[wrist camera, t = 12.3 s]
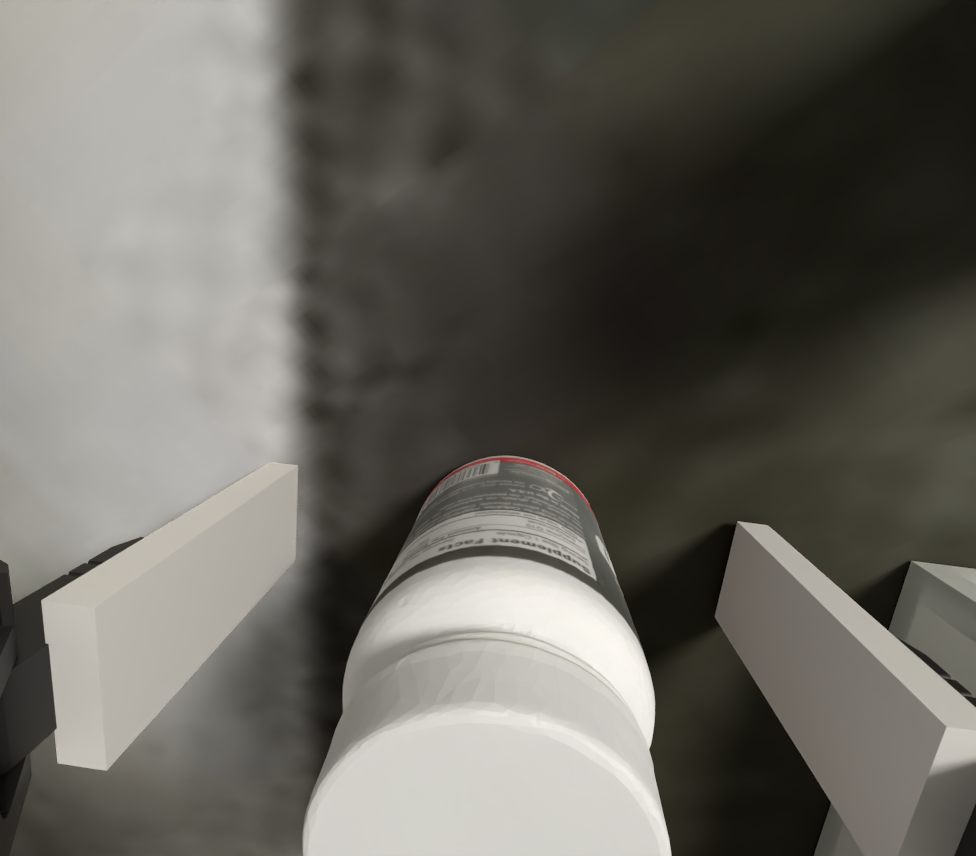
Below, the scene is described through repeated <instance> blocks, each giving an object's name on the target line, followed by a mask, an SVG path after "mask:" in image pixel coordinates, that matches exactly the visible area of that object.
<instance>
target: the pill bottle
mask: <svg viewBox="0 0 976 856" xmlns="http://www.w3.org/2000/svg"><path fill="white" fill-rule="evenodd" d="M342 700H343V714H342V716H341V718H340V720H339V723H338V725H337V727H336V729H335V732H334V736H333V739H332V742H331V746H330V749H329V751H328V754H327V757H326V759H325V762H324V764H323V767H322V769H321V772H320V774H319V777H318V779H317V782H316V784H315V787H314V789H313V791H312V794H311V798H310V801H309V804H308V807H307V810H306V814H305V819H304V825H303V832H302V854H303V856H671V848H670V841H669V836H668V832H667V828H666V823H665V819H664V815H663V810H662V806H661V802H660V797H659V793H658V789H657V784H656V780H655V776H654V769H653V763H652V759H651V755H650V752H649V748H650V745H651V742H652V736H653V729H654V720H655V698H654V690H653V685H652V680H651V675H650V672H649V668H648V665H647V662H646V658H645V655H644V652H643V648H642V645H641V643H640V640H639V637H638V634H637V631H636V629H635V627H634V624H633V621H632V618H631V615H630V613H629V610H628V607H627V605H626V602H625V600H624V596H623V593H622V591H621V588H620V586H619V583H618V581H617V577H616V574H615V572H614V569H613V566H612V564H611V561H610V558H609V555H608V552H607V549H606V547H605V544H604V541H603V538H602V536H601V533H600V529H599V526H598V523H597V520H596V518H595V516H594V513H593V511H592V509H591V507H590V505H589V504H588V502H587V500H586V498H585V497H584V495H583V494H582V493H581V491H580V490H579V489H578V488H577V487H576V486H575V485H574V484H573V483H572V482H571V481H570V480H569V479H568V478H566V477H565V476H564V475H562V474H561V473H559V472H558V471H556V470H554V469H553V468H551V467H549V466H547V465H545V464H542V463H540V462H537V461H534V460H531V459H527V458H523V457H517V456H493V457H487V458H483V459H479V460H476V461H473V462H470V463H468V464H466V465H464V466H462V467H460V468H458V469H456V470H454V471H453V472H452V473H450V474H449V475H448V476H446V477H445V478H444V479H443V480H442V481H441V482H440V483H439V484H438V485H437V486H436V487H435V488H434V489H433V491H432V492H431V493H430V495H429V496H428V497H427V499H426V501H425V502H424V504H423V506H422V508H421V510H420V513H419V515H418V517H417V519H416V521H415V524H414V526H413V528H412V530H411V532H410V534H409V535H408V537H407V540H406V541H405V543H404V545H403V547H402V549H401V551H400V553H399V555H398V557H397V559H396V561H395V563H394V565H393V567H392V569H391V571H390V573H389V574H388V577H387V578H386V580H385V582H384V584H383V586H382V588H381V590H380V592H379V594H378V595H377V597H376V599H375V601H374V603H373V605H372V606H371V608H370V610H369V612H368V614H367V615H366V617H365V619H364V621H363V624H362V626H361V628H360V630H359V633H358V635H357V638H356V640H355V642H354V644H353V647H352V649H351V652H350V655H349V658H348V662H347V665H346V670H345V675H344V682H343V699H342Z"/></svg>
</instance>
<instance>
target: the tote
mask: <svg viewBox="0 0 976 856" xmlns="http://www.w3.org/2000/svg"><path fill="white" fill-rule="evenodd" d="M888 631H889V632H890V633H891V634H892V635H894V636H896V637H897V638H899V639H901V640H902V641H904V642H906V643H907V644H909V645H911V646H912V647H914V648H916V649H917V650H919V651H921V652H922V653H924V654H925V655H927V656H928V657H929V658H931V659H932V660H933V661H934V662H935V663H936V664H938V665H939V666H940V667H941V668H942V669H943V670H945V671H946V672H947V673H948V674H949V675H950V676H951V679H952V680H956V681H957V682H959V683H960V684H961V685H962V686H963V687H964V688H966V689H967V690H968V691H969V692H970V693H971V696H972V697H973V698H976V569H971V568H964V567H956V566H948V565H940V564H932V563H925V562H917V561H911V563H910V566H909V569H908V572H907V575H906V578H905V581H904V584H903V587H902V590H901V593H900V596H899V599H898V602H897V605H896V608H895V612H894V615H893V618H892V621H891V624H890V627H889V630H888ZM814 856H864V854H863V853H862V851H861V849H860V848H859V846H858V845H857V843H856V841H855V840H854V838H853V837H852V835H851V833H850V832H849V830H848V829H847V827H846V825H845V824H844V822H843V821H842V819H841V817H840V816H839V814H838V813H837V811H836V810H835V808H834V806H833V805H832V803H831V805H830V808H829V811H828V814H827V817H826V820H825V823H824V826H823V829H822V832H821V835H820V838H819V841H818V844H817V847H816V850H815V853H814Z"/></svg>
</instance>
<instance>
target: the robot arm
mask: <svg viewBox="0 0 976 856" xmlns="http://www.w3.org/2000/svg"><path fill="white" fill-rule="evenodd" d="M297 489H298V465H291V464H283V463H275V462H269V463H267V464H265V465H264V466H262V467H260V468H259V469H257V470H255V471H254V472H252V473H250V474H249V475H247V476H245V477H244V478H242V479H241V480H239V481H237V482H236V483H234V484H232V485H231V486H229V487H227V488H226V489H224V490H222V491H221V492H219V493H217V494H216V495H214V496H212V497H211V498H209V499H208V500H206V501H204V502H203V503H201V504H199V505H198V506H196V507H194V508H193V509H191V510H189V511H188V512H186V513H184V514H183V515H181V516H179V517H178V518H176V519H175V520H173V521H171V522H170V523H168V524H166V525H165V526H163V527H161V528H160V529H158V530H156V531H155V532H153V533H151V534H150V535H148V536H146V537H145V538H144V537H140V538H137V539H134V540H131V541H128V542H125V543H122V544H120V545H117V546H114V547H111V548H109V549H108V550H106V551H104V552H103V553H101V554H99V555H97V556H96V557H94V558H92V559H91V560H89V562H88V564H86V563H84V564H82V565H80V566H78V567H77V568H75V569H73V570H72V571H70V572H69V574H68V575H63V576H61V577H60V578H58V579H56V580H54V581H53V582H51V583H49V584H47V585H46V586H44V587H42V588H41V589H39V590H37V591H35V592H34V593H32V594H30V595H29V596H27V597H25V598H23V599H22V600H20V601H18V602H16V603H15V604H13V603H12V595H11V586H10V577H9V569H8V564H6V563H5V562H3V561H1V560H0V856H9V854H10V851H11V847H12V844H13V840H14V836H15V833H16V829H17V825H18V822H19V818H20V815H21V811H22V807H23V804H24V800H25V797H26V793H27V789H28V786H29V782H30V779H31V760H30V752H31V751H32V750H33V749H34V748H35V747H37V746H38V745H39V744H40V743H41V742H42V741H43V740H44V739H45V738H47V737H48V736H49V735H50V734H51V733H52V732H53V731H54V733H55V743H56V753H57V763H58V764H65V765H71V766H78V767H85V768H91V769H98V770H105V771H107V770H108V769H109V768H110V767H111V766H112V764H113V763H114V762H115V761H116V760H117V759H118V758H119V757H120V755H121V754H122V753H123V752H124V751H125V750H126V749H127V748H128V747H129V745H130V744H131V743H132V742H133V741H134V740H135V739H136V738H137V737H138V735H139V734H140V733H141V732H142V731H143V730H144V729H145V728H146V727H147V725H148V724H149V723H150V722H151V721H152V720H153V719H154V718H155V717H156V715H157V714H158V713H159V712H160V711H161V710H162V709H163V708H164V706H165V705H166V704H167V703H168V702H169V701H170V700H171V699H172V698H173V696H174V695H175V694H176V693H177V692H178V691H179V690H180V689H181V688H182V686H183V685H184V684H185V683H186V682H187V681H188V680H189V679H190V678H191V676H192V675H193V674H194V673H195V672H196V671H197V670H198V669H199V668H200V666H201V665H202V664H203V663H204V662H205V661H206V660H207V659H208V657H209V656H210V655H211V654H212V653H213V652H214V651H215V650H216V649H217V647H218V646H219V645H220V644H221V643H222V642H223V641H224V640H225V639H226V637H227V636H228V635H229V634H230V633H231V632H232V631H233V630H234V629H235V627H236V626H237V625H238V624H239V623H240V622H241V621H242V620H243V619H244V617H245V616H246V615H247V614H248V613H249V612H250V611H251V610H252V608H253V607H254V606H255V605H256V604H257V603H258V602H259V601H260V600H261V598H262V597H263V596H264V595H265V594H266V593H267V592H268V591H269V590H270V588H271V587H272V586H273V585H274V584H275V583H276V582H277V581H278V580H279V578H280V577H281V576H282V575H283V574H284V573H285V572H286V571H287V570H288V568H289V567H290V566H291V565H292V564H293V563H294V562H295V561H296V526H297ZM715 618H716V620H717V622H718V623H719V625H720V626H721V628H722V629H723V631H724V633H725V634H726V636H727V637H728V639H729V641H730V642H731V644H732V645H733V647H734V649H735V650H736V652H737V653H738V655H739V657H740V658H741V660H742V661H743V663H744V665H745V666H746V668H747V669H748V671H749V672H750V674H751V676H752V677H753V679H754V680H755V682H756V684H757V685H758V687H759V688H760V690H761V692H762V693H763V695H764V696H765V698H766V700H767V701H768V703H769V704H770V706H771V708H772V709H773V711H774V712H775V714H776V716H777V717H778V719H779V720H780V722H781V723H782V725H783V727H784V728H785V730H786V731H787V733H788V735H789V736H790V738H791V739H792V741H793V743H794V744H795V746H796V747H797V749H798V751H799V752H800V754H801V755H802V757H803V759H804V760H805V762H806V763H807V765H808V766H809V768H810V770H811V771H812V773H813V774H814V776H815V778H816V779H817V781H818V782H819V784H820V786H821V787H822V789H823V790H824V792H825V794H826V795H827V797H828V798H829V800H830V802H831V803H832V805H833V806H834V808H835V810H836V811H837V813H838V814H839V816H840V817H841V819H842V821H843V822H844V824H845V825H846V827H847V829H848V830H849V832H850V833H851V835H852V837H853V838H854V840H855V841H856V843H857V845H858V846H859V848H860V849H861V851H862V853H863V854H864V856H976V698H973V697H972V696H971V693H970V692H969V691H968V690H967V689H966V688H964V687H963V686H962V685H961V684H960V683H959V682H957V681H956V680H952V679H951V676H950V675H949V674H948V673H947V672H946V671H945V670H943V669H942V668H941V667H940V666H939V665H938V664H936V663H935V662H934V661H933V660H932V659H931V658H929V657H928V656H927V655H925V654H924V653H922V652H921V651H919V650H917V649H916V648H914V647H912V646H911V645H909V644H907V643H906V642H904V641H902V640H901V639H899V638H897V637H896V636H894V635H892V634H891V633H890V632H889V631H888V630H887V629H886V628H884V627H883V626H882V625H881V624H880V623H879V622H878V621H876V620H875V619H874V618H873V617H872V616H871V615H870V614H868V613H867V612H866V611H865V610H864V609H863V608H862V607H861V606H859V605H858V604H857V603H856V602H855V601H854V600H853V599H851V598H850V597H849V596H848V595H847V594H846V593H845V592H843V591H842V590H841V589H840V588H839V587H838V586H837V585H835V584H834V583H833V582H832V581H831V580H830V579H829V578H827V577H826V576H825V575H824V574H823V573H822V572H821V571H819V570H818V569H817V568H816V567H815V566H814V565H813V564H811V563H810V562H809V561H808V560H807V559H806V558H805V557H803V556H802V555H801V554H800V553H799V552H798V551H797V550H795V549H794V548H793V547H792V546H791V545H790V544H789V543H787V542H786V541H785V540H784V539H783V538H782V537H781V536H779V535H778V534H777V533H776V532H775V531H774V530H773V529H771V528H770V527H769V526H768V525H762V524H754V523H746V522H738V521H737V525H736V529H735V534H734V538H733V542H732V546H731V550H730V554H729V559H728V563H727V567H726V571H725V575H724V579H723V584H722V588H721V592H720V596H719V600H718V604H717V608H716V613H715Z"/></svg>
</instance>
